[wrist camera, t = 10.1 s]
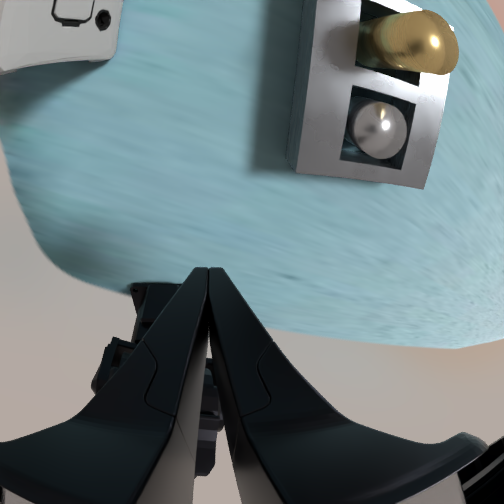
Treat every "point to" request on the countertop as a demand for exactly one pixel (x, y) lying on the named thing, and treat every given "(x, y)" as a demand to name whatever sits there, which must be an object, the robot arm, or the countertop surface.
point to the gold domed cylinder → (408, 43)
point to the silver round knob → (375, 127)
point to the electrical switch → (57, 31)
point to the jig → (339, 91)
